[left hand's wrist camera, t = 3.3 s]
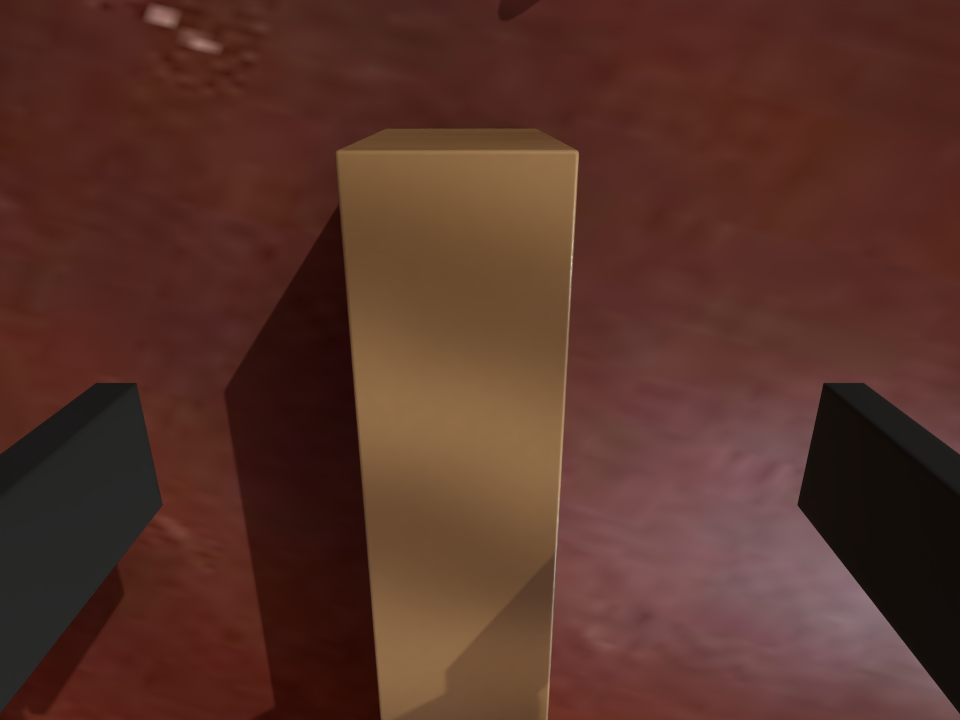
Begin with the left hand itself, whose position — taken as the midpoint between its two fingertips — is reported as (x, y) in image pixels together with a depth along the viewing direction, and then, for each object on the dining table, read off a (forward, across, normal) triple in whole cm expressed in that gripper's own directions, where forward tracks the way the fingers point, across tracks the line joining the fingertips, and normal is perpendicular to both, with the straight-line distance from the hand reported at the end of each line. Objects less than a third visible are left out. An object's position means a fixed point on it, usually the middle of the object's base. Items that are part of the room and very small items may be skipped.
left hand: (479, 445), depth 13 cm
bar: (+11, -1, -28) cm, 30 cm away
